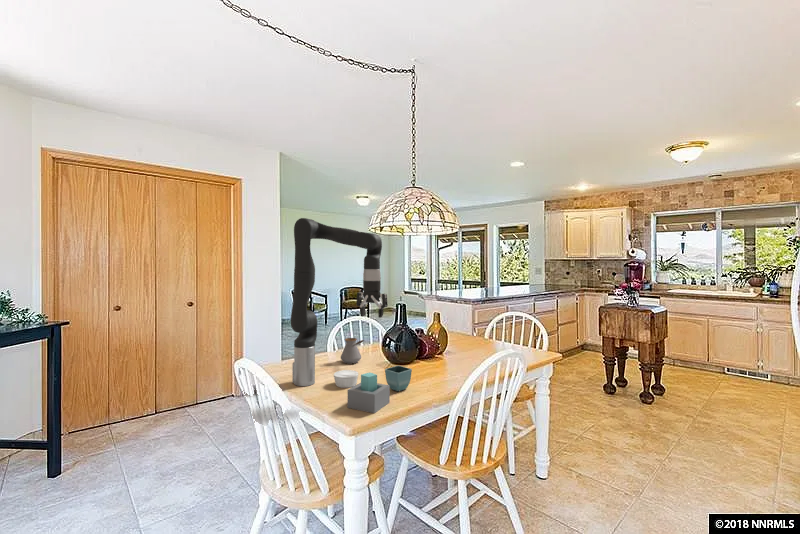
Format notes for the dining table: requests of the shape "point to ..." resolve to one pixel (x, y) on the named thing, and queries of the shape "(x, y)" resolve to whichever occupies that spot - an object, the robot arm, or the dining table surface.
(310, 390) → the dining table surface
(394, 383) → the flower pot
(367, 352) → the dining table surface
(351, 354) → the coffee pot
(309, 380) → the robot arm
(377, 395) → the box
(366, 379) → the teal post
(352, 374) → the ramekin
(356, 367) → the dining table surface
